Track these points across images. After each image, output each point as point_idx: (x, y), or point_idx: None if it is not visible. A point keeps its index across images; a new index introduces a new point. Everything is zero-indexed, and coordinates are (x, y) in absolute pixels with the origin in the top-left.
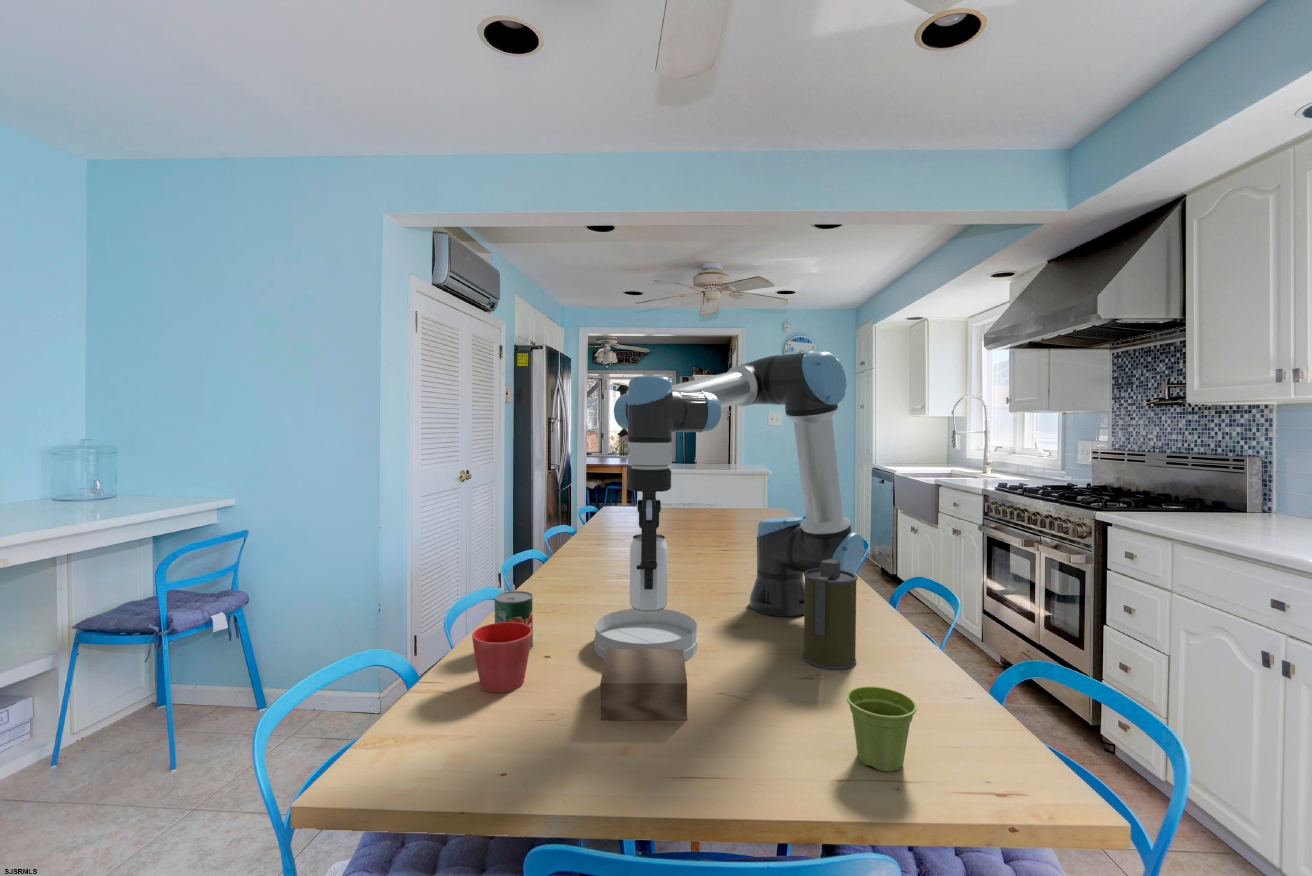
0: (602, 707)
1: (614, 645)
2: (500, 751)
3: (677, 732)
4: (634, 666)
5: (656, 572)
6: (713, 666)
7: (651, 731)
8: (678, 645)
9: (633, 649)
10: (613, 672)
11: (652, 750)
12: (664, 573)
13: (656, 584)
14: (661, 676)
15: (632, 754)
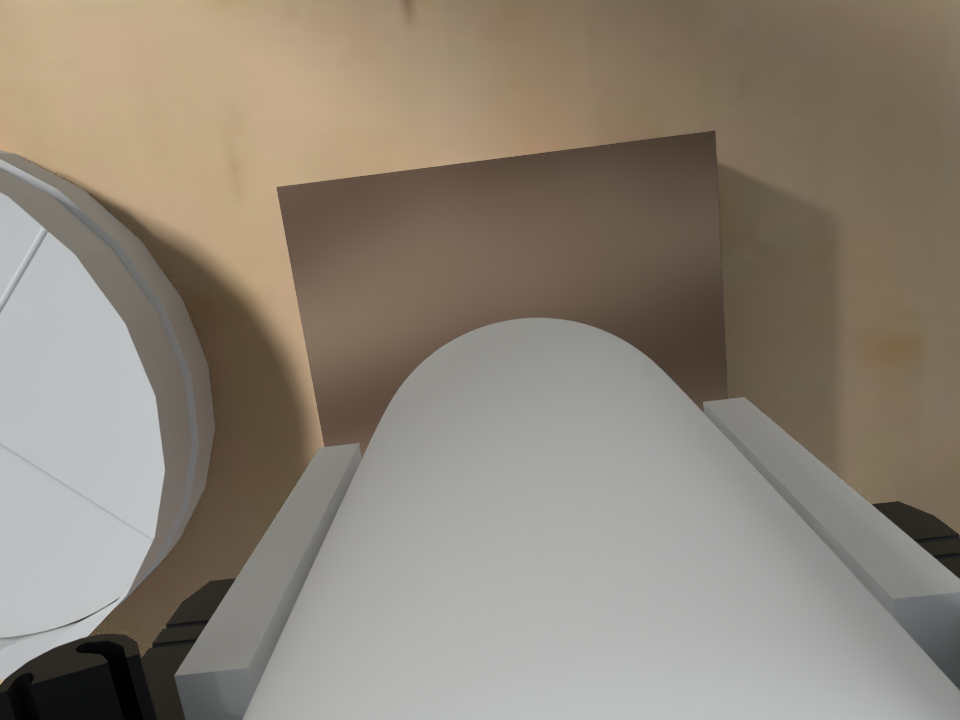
0: None
1: (154, 548)
2: None
3: (764, 172)
4: None
5: (932, 564)
6: (116, 38)
7: (760, 274)
8: (67, 229)
9: None
10: None
11: (890, 254)
12: (705, 439)
13: (847, 485)
14: (642, 271)
15: (915, 320)
